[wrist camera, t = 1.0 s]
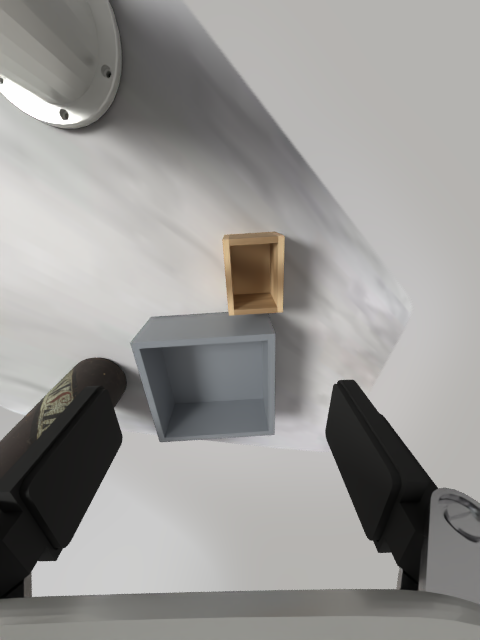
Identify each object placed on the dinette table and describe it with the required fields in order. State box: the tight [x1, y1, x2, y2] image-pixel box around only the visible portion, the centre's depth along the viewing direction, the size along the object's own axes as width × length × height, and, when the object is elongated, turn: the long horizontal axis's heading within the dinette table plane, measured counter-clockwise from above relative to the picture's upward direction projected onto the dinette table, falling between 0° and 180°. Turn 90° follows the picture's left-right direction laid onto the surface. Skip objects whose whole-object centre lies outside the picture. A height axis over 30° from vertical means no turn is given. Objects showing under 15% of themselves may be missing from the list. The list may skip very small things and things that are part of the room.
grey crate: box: [130, 312, 275, 442], centre depth 32 cm, size 16×16×7 cm
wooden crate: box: [223, 232, 285, 316], centre depth 26 cm, size 8×6×6 cm
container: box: [0, 358, 127, 479], centre depth 27 cm, size 9×9×20 cm
